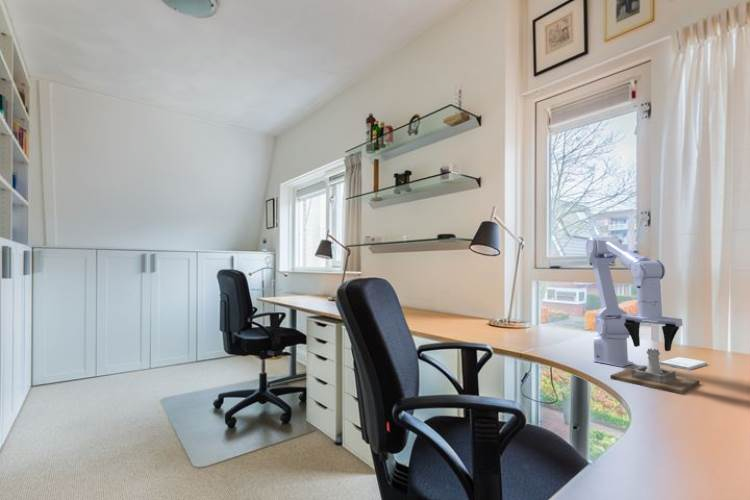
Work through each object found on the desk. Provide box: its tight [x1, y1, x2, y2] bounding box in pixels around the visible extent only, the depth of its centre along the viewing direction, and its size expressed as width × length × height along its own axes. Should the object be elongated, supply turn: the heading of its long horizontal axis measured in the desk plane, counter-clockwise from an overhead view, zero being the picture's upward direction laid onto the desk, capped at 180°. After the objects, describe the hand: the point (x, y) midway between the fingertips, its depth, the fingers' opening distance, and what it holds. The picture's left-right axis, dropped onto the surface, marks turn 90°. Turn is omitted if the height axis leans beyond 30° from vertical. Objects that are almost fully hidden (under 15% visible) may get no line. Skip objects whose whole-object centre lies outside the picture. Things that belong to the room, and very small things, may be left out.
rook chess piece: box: [645, 348, 664, 375], centre depth 107 cm, size 4×4×8 cm
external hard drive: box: [659, 356, 708, 371], centre depth 123 cm, size 2×8×12 cm
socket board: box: [609, 365, 701, 395], centre depth 107 cm, size 17×14×3 cm
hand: (651, 348), depth 107 cm, fingers open, 7 cm apart
